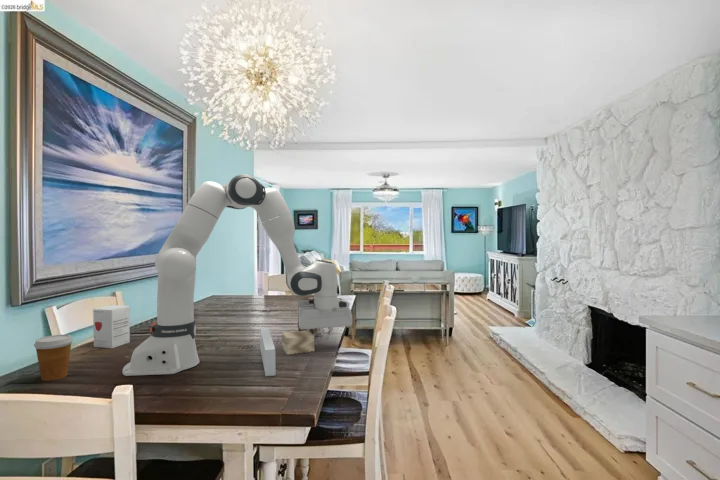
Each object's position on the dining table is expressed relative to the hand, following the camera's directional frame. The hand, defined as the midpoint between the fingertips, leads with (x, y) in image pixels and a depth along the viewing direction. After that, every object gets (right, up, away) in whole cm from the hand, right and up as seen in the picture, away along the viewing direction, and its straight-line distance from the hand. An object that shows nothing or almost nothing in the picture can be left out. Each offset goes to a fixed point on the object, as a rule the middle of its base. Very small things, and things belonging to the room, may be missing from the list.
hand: (325, 339), depth 154 cm
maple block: (-10, -3, -3) cm, 11 cm away
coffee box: (-9, -3, +17) cm, 19 cm away
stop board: (-19, -3, -16) cm, 25 cm away
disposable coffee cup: (-80, -4, -31) cm, 86 cm away
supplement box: (-85, -4, +5) cm, 85 cm away
